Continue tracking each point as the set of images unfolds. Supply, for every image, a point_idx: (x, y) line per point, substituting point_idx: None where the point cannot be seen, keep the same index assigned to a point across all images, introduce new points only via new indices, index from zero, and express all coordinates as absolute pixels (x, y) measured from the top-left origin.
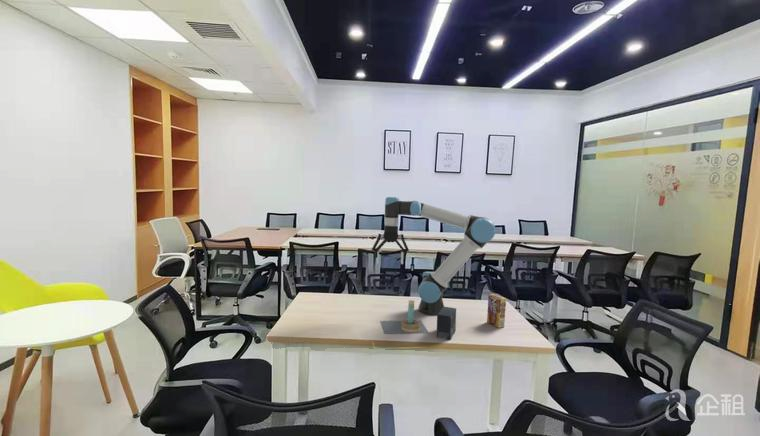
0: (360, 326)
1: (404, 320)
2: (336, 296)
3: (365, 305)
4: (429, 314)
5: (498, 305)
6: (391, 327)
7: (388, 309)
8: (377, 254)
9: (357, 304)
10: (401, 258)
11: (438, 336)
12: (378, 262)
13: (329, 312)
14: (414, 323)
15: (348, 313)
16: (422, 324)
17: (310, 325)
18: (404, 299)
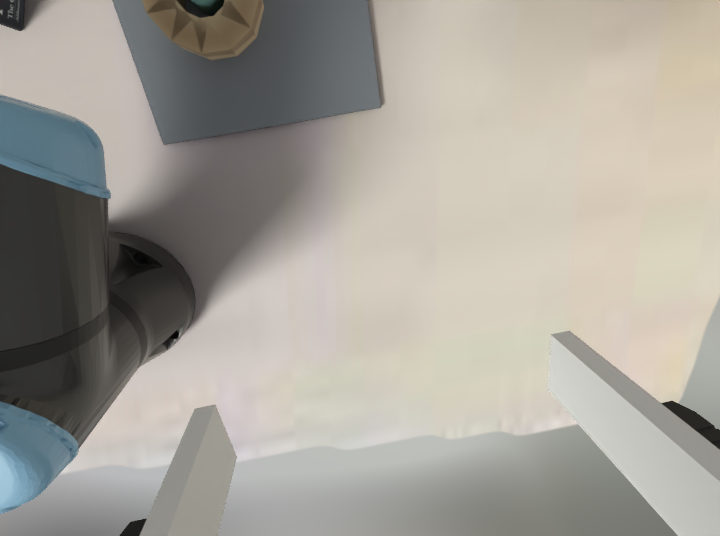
0: (476, 30)
1: (241, 28)
2: None
3: (445, 321)
4: (125, 235)
5: None
6: (317, 8)
7: (341, 289)
8: (708, 449)
9: (479, 326)
10: (205, 511)
11: None
12: (567, 347)
13: (604, 208)
14: (178, 2)
15: (523, 208)
16: (147, 78)
17: (705, 19)
18: (273, 424)
